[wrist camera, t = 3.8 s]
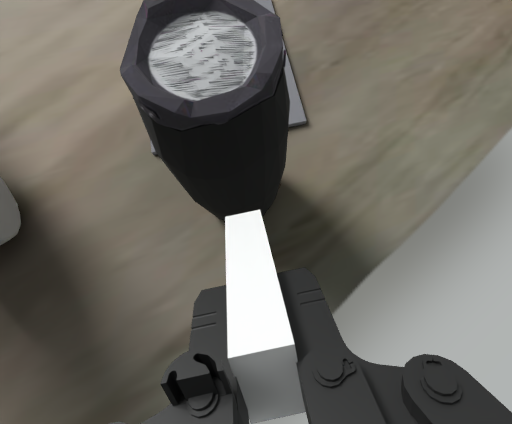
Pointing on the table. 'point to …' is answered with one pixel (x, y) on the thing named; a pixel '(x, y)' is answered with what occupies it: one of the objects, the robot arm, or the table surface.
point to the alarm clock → (8, 214)
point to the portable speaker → (213, 97)
